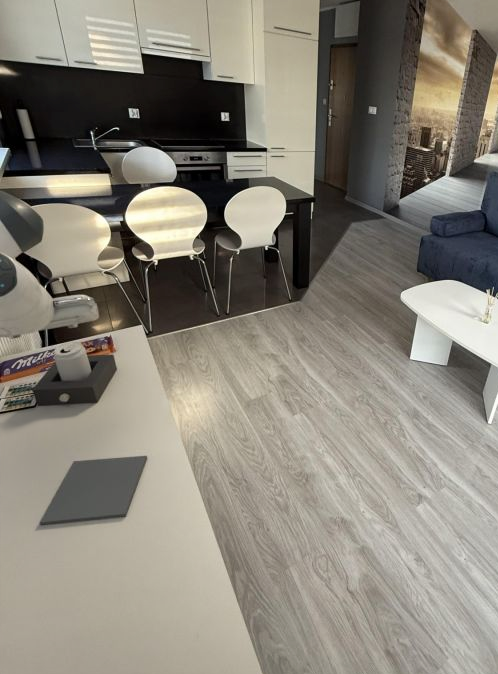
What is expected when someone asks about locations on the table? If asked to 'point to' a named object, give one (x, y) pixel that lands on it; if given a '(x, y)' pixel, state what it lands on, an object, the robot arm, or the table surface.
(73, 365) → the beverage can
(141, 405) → the table surface
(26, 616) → the table surface
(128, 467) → the mat
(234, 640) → the table surface
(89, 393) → the blender base
